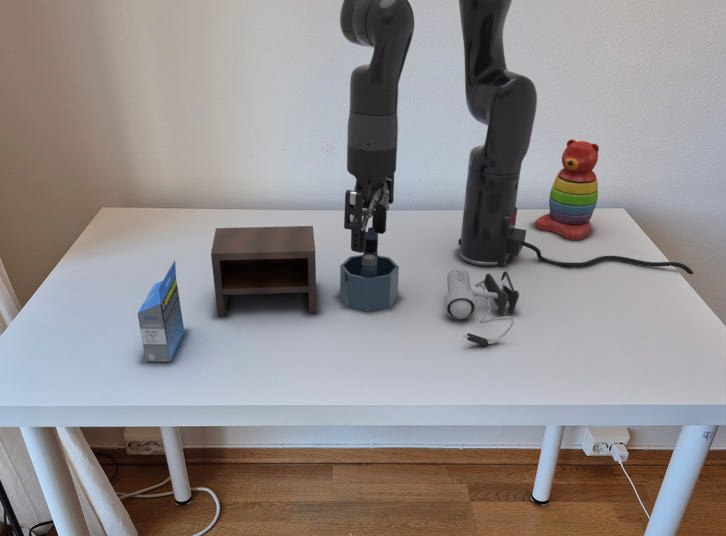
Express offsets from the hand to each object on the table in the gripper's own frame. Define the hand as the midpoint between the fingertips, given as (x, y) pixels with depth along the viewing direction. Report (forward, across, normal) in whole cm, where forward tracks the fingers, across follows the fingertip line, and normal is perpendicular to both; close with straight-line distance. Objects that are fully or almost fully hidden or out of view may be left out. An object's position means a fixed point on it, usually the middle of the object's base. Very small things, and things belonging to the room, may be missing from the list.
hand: (368, 241), depth 114 cm
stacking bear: (+10, +46, -25) cm, 53 cm away
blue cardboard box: (+11, -27, +21) cm, 36 cm away
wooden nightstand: (+10, -8, +15) cm, 20 cm away
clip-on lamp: (+10, +1, -20) cm, 22 cm away
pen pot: (+10, 0, 0) cm, 10 cm away
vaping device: (+10, 0, 0) cm, 11 cm away
